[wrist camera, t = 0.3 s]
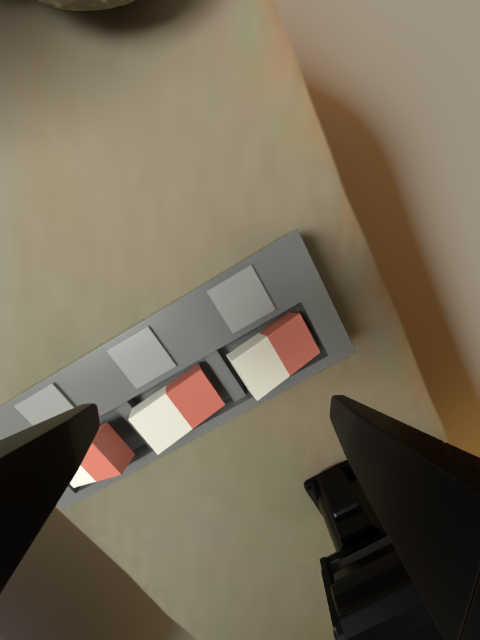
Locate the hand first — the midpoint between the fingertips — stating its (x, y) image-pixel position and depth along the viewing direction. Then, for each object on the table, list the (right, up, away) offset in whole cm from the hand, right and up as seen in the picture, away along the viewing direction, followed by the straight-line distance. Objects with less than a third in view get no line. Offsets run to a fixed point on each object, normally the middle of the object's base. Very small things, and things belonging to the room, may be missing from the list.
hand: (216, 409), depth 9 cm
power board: (-5, -1, +14) cm, 15 cm away
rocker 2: (-4, -4, +10) cm, 12 cm away
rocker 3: (+4, +1, +10) cm, 10 cm away
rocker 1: (-12, -8, +11) cm, 18 cm away
